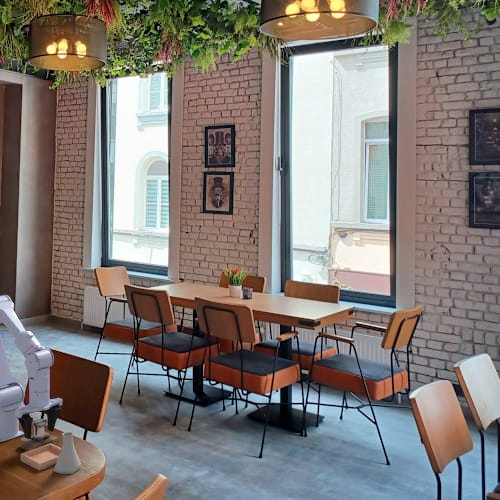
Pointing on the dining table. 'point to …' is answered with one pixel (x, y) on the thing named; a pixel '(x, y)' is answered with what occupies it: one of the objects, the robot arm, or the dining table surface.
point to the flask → (67, 456)
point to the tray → (42, 456)
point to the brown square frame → (31, 444)
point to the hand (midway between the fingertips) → (39, 434)
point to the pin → (39, 429)
